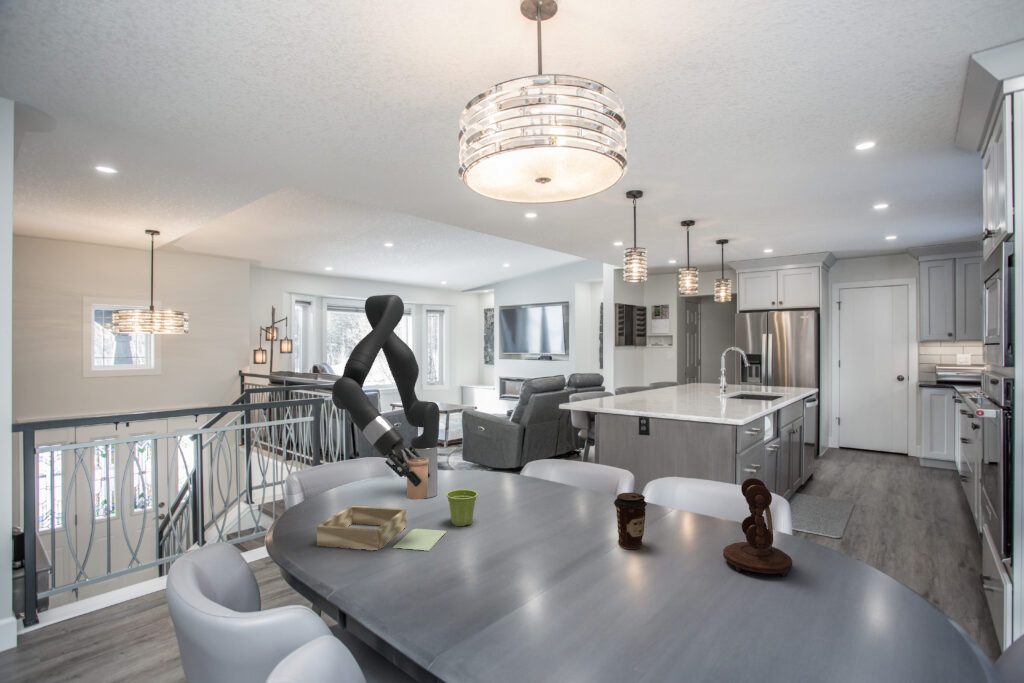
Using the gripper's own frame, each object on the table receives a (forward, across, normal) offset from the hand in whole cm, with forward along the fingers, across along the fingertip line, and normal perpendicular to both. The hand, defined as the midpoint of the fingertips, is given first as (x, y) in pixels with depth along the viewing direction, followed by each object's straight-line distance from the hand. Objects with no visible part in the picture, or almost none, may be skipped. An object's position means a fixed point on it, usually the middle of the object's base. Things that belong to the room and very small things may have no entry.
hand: (423, 481), depth 138 cm
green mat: (+11, 0, +12) cm, 16 cm away
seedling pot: (+2, 0, +4) cm, 5 cm away
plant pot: (+16, +15, +7) cm, 23 cm away
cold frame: (-1, 0, +24) cm, 24 cm away
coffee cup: (+50, +7, -28) cm, 58 cm away
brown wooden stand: (+71, +1, -48) cm, 86 cm away
